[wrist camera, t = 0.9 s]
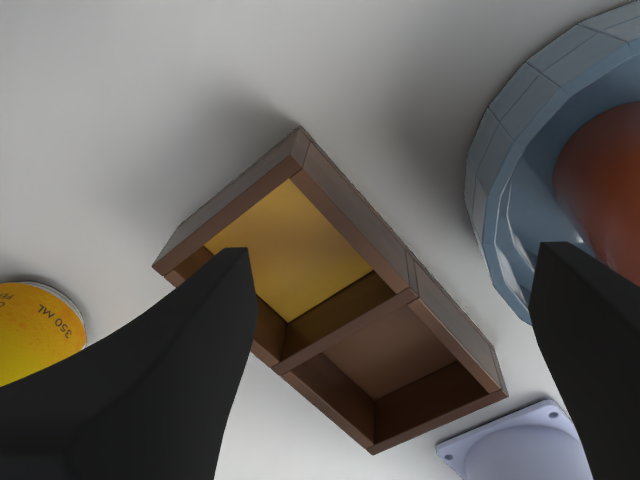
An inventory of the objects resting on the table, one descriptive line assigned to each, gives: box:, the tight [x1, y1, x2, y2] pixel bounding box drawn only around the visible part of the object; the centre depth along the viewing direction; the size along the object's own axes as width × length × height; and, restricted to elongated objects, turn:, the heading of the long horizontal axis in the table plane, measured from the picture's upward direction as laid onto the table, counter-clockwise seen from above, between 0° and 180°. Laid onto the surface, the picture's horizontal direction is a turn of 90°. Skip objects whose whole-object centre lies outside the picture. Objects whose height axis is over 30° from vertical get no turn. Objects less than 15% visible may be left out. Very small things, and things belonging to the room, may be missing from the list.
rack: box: [152, 126, 509, 455], centre depth 24 cm, size 16×8×4 cm, turn 40°
